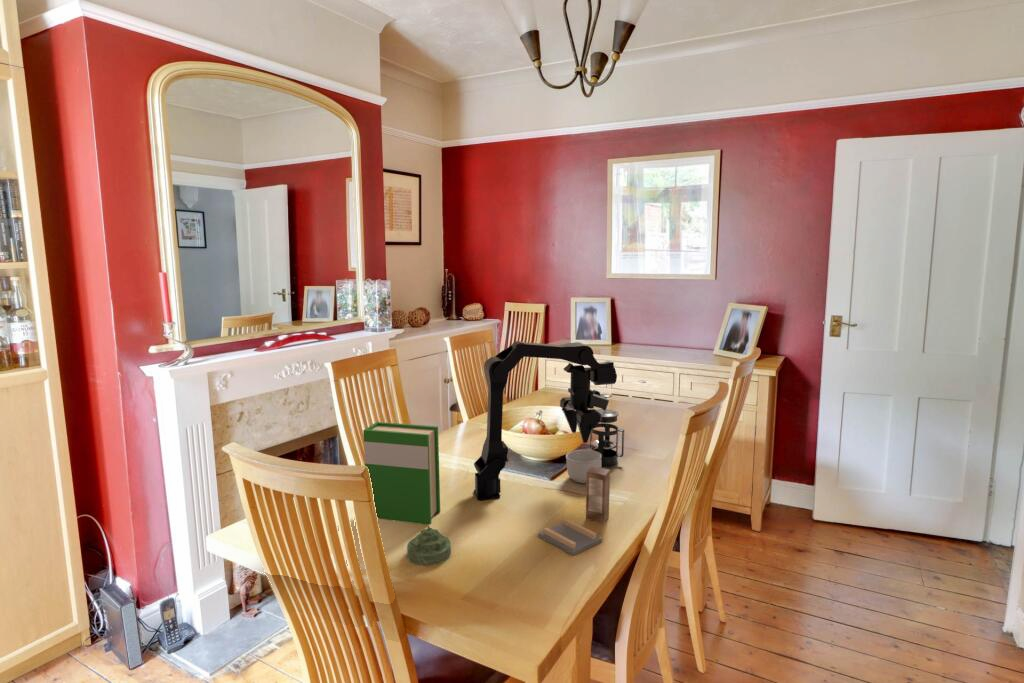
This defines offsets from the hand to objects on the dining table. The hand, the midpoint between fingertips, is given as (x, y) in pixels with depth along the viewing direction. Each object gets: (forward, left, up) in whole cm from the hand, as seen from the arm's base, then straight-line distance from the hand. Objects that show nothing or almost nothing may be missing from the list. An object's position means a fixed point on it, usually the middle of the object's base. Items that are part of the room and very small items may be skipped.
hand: (579, 437), depth 173 cm
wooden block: (-3, -21, -15) cm, 26 cm away
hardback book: (-52, -6, -15) cm, 54 cm away
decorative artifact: (-48, -28, -15) cm, 58 cm away
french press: (+15, +14, -15) cm, 25 cm away
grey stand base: (-14, -30, -15) cm, 36 cm away
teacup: (+4, +4, -15) cm, 16 cm away
